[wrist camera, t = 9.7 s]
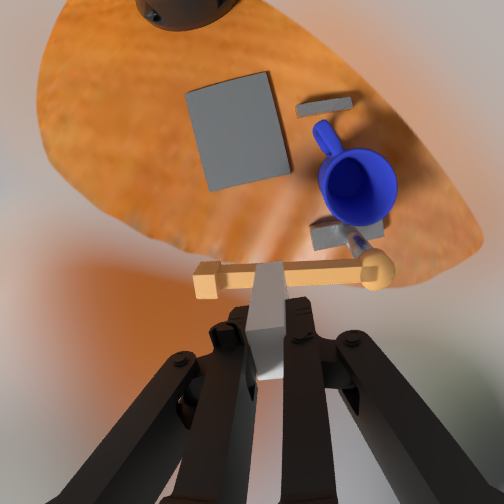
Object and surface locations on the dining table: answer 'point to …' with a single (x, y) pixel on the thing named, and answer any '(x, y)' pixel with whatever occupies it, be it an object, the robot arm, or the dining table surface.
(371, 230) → the dock
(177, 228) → the dining table surface
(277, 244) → the dining table surface
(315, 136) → the mug
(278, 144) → the coaster
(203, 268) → the ball-tipped wooden rod
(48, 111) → the dining table surface
